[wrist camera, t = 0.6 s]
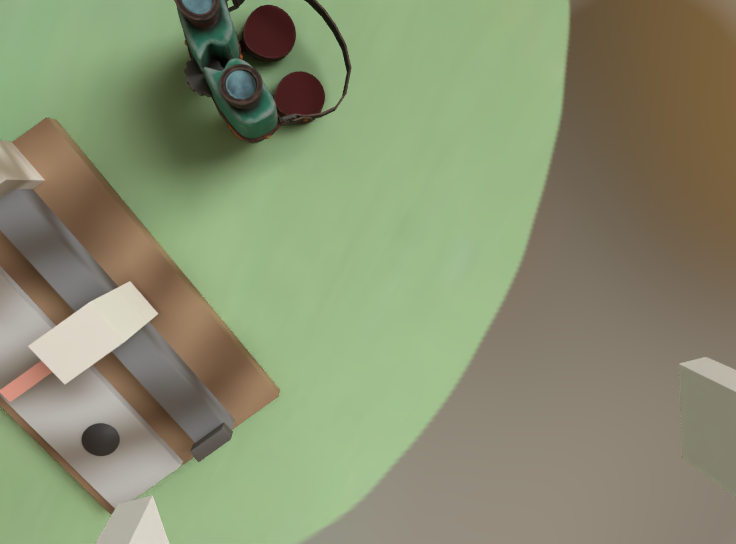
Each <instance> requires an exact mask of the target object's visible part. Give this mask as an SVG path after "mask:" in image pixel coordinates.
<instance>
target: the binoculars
mask: <svg viewBox="0 0 736 544" xmlns="http://www.w3.org/2000/svg"><path fill="white" fill-rule="evenodd" d="M174 1H175V3H176V5H177V10H178V14H179V18H180V22H181V25H182V28H183V32H184V35H185V39H186V40H185V45H187V47H188V50H189V54H190V57H191V59H192V60H191V61H190V62H189V61H188V62H187V64H186V65H187V68H186V69H185V74H186V77H187V78H186V81H187V83H188V84H189V85H191V86H190V87H191V89H192V90H193V91H194V92H195V91H196V92H198V94H199V95H201V96H203V95H206V96H207V97H212V99H213V101H214V103H215V105H216V107H217V109H218V111H219V114H220V115H221V116H222V117H223V119H224V120H225V121H226V122H227V123H228V127H229V128H230V129H231V130H232V132H233V133H234V134H235V136H237V137H238V138H239V139H241V140H244V141H247V142H249V143H258V142H261V141H263V140H264V139H268V138H269V137H270V136H271V135H273V134H274V133H275V132H276V130H277V129H278V128H279V126H281V125H286V124H291V123H292V124H293V123H299V124H302V123H308V122H311V121H313V120H315V119H316V118H319V117H322V116H324V115H327V114H329V113H331V112H333V111H335V110H336V108H337V107H338V105H339V104H340V102H341V101H342V99H343V98H344V96H345V95H346V93H347V88H348V83H349V78H350V72H351V64H350V60H349V55H348V51H347V46H346V43H345V41H344V39H343V37H342V36H341V34H340V32H339V30H338V28H337V26H336V24H335V23H334V21H333V20H332V19H331V17H330V16H329V14H328V13H327V12H326V10H325V9H324V8H323V7H322V6H321V5H320V4H319V3H318V2H317V1H316V0H305V1H306V2H308V3H309V4H310V5H311V6H312V7H313V8H314V9H315V10H316V11H317V12H318V13H319V14H320V15H321V16H322V18H323V19H324V20H325V22H326V23H327V25H328V26H329V28H330V29H331V30H332V32H333V34H334V36H335V37H336V39H337V41H338V43H339V45H340V47H341V49H342V52H343V56H344V61H345V65H346V70H347V75H346V80H345V85H344V90H343V95H342V98H341V99H340V101H339V102H338V104H337V105H336V106H335V107H333V108H331V109H329V110H327V111H324V112H322V113H320V112H321V110H322V107H323V104H324V101H325V93H324V89H323V86H322V85H321V83H320V82H319V81H318V79H317V78H315V77H314V76H313V75H311V74H309V73H306V72H293V73H290V74H288V75H287V76H285V77H284V78H283V79H282V80H281V82H280V83H279V84H278V86H277V88H276V91H275V96H274V99H273V97H272V95H271V93H270V92H269V90H268V88H267V87H266V85H265V84H264V82H263V81H262V78H261V76H260V74H259V73H258V71H257V70H256V69H254V68H253V67H252V66H251V65H250V64H248V63H247V62H245V61H243V60H242V59H243V56H242V55H241V53H244V52H249V53H250V54H251V55H252V56H254V57H256V58H258V59H261V60H264V61H277V60H280V59H282V58H284V57H285V56H286V55H287V54H288V53H289V52H290V51H291V49H292V48H293V46H294V43H295V39H296V31H295V26H294V23H293V21H292V19H291V18H290V16H289V15H288V14H287V13H286V12H285V11H284V10H282V9H281V8H279V7H277V6H273V5H264V6H260V7H259V8H257V9H255V10H254V11H253V12H252V13H251V15H250V16H249V17H248V19H247V21H246V23H245V26H244V29H243V33H242V41H238V38H237V35H236V32H235V29H234V26H233V23H232V20H231V17H230V14H229V12H231V11H233V10H235V9H237V8H239V6H240V5H241V4H242V3H243V2H244V1H245V0H232V1H233V4H234V6H232V7H230V8H228V4H227V1H228V0H174ZM278 120H279V123H278ZM284 120H286V121H284Z"/></svg>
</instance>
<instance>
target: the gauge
mask: <svg viewBox="0 0 736 544" xmlns="http://www.w3.org/2000/svg"><path fill="white" fill-rule="evenodd" d="M129 281H130V282H131V283H132V284H133V285H134V286H135V287H136V289H137V290H138V291H139V292H140V293H141V294H142V295H143V297H144V298H145V299H146V300H147V301H148V302H149V304H150V305H151V306H152V307H153V308H154V309H155V310H156V312H157V313H158V315H156V316H155V317H154V318H153V319H152V320H150V321H149V322H148V323H147V324H146V325H144V326H143V327H142V328H141V329H140V330H138V331H137V332H136V333H135V334H134V335H132V336H131V337H130V338H129V339H128V340H126V341H125V342H124V343H122V344H121V345H120V346H118V347H117V348H115V349H114V350H113V351H111V352H110V353H108V354H107V355H106V356H104V357H103V358H101V359H100V360H99V361H97V362H96V363H94V364H93V365H92V366H90V367H89V368H87V369H86V370H85V371H83V372H82V373H80V374H79V375H78V376H76V377H75V378H73V379H72V380H71V381H69V382H68V383H66V384H64V383H63V382H62V381H61V380H60V379H59V378H58V377H57V376H56V375H55V374H54V373H53V372H52V373H51V374H49V375H48V376H46V377H45V378H44V379H42V380H41V381H39V382H38V383H37V384H35V385H34V386H32V387H31V388H30V389H28V390H27V391H25V392H24V393H23V394H21V395H20V396H18V397H17V398H16V399H14V400H13V401H11V402H9V401H8V400H7V399H6V398H5V397H4V396H3V395H2V394H1V393H0V406H1V407H2V408H3V409H4V410H5V411H6V412H7V413H8V414H9V415H10V416H11V417H12V418H13V419H14V420H15V421H16V422H17V423H18V424H19V425H20V426H21V427H22V428H23V429H24V430H25V431H26V432H27V433H28V434H29V435H30V436H31V437H33V438H34V439H35V440H36V441H37V442H38V443H39V444H40V445H41V446H42V447H43V448H44V449H45V450H46V451H47V452H48V453H49V454H50V455H51V456H52V457H53V458H54V459H55V460H56V461H57V462H58V463H59V464H60V465H61V466H62V467H63V468H64V469H65V470H66V471H67V472H68V473H69V474H70V475H71V476H73V477H74V478H75V479H76V480H77V481H78V482H79V483H80V484H81V485H82V486H83V487H84V488H85V489H86V490H87V491H88V492H89V493H90V494H91V495H92V496H93V497H94V498H95V499H96V500H97V501H98V502H99V503H100V504H101V505H102V506H103V507H104V508H105V509H106V510H107V511H108V512H109V513H110V514H111V515H112V513H113V512H114V510H115V508H116V507H117V505H118V504H119V503H123V502H127V501H131V500H134V499H135V498H137V497H138V496H140V495H141V494H142V493H144V492H145V491H147V490H148V489H149V488H151V487H152V486H154V485H155V484H156V483H158V482H159V481H161V480H162V479H163V478H165V477H166V476H168V475H169V474H170V473H172V472H173V471H175V470H176V469H177V468H179V467H180V466H182V465H183V464H184V463H186V462H187V461H189V460H190V459H191V458H193V457H194V458H195V459H196V460H197V461H198V462H199V461H201V460H202V459H204V458H205V457H206V456H208V455H209V454H211V453H212V452H213V451H215V450H216V449H218V448H219V447H220V446H222V445H223V444H225V443H226V442H227V441H229V440H230V439H231V436H232V433H233V431H232V429H233V428H235V427H236V426H238V425H239V424H240V423H242V422H243V421H245V420H246V419H247V418H249V417H250V416H252V415H253V414H255V413H256V412H257V411H259V410H260V409H262V408H263V407H264V406H266V405H267V404H269V403H270V402H271V401H273V400H274V399H276V398H277V397H278V396H279V391H280V389H279V388H278V387H277V386H276V384H275V383H274V382H273V381H272V380H271V378H270V377H269V376H268V375H267V374H266V372H265V371H264V370H263V369H262V367H261V366H260V365H259V364H258V363H257V361H256V360H255V359H254V358H253V357H252V355H251V354H250V353H249V352H248V351H247V349H246V348H245V347H244V346H243V345H242V343H241V342H240V341H239V340H238V339H237V337H236V336H235V335H234V334H233V332H232V331H231V330H230V329H229V328H228V326H227V325H226V324H225V323H224V322H223V320H222V319H221V318H220V317H219V316H218V314H217V313H216V312H215V311H214V310H213V308H212V307H211V306H210V305H209V304H208V302H207V301H206V300H205V299H204V297H203V296H202V295H201V294H200V293H199V291H198V290H197V289H196V288H195V287H194V285H193V284H192V283H191V282H190V281H189V279H188V278H187V277H186V276H185V275H184V273H183V272H182V271H181V270H180V269H179V267H178V266H177V265H176V264H175V262H174V261H173V260H172V259H171V258H170V256H169V255H168V254H167V253H166V252H165V250H164V249H163V248H162V247H161V246H160V244H159V243H158V242H157V241H156V240H155V238H154V237H153V236H152V235H151V234H150V232H149V231H148V230H147V229H146V227H145V226H144V225H143V224H142V223H141V221H140V220H139V219H138V218H137V217H136V215H135V214H134V213H133V212H132V211H131V209H130V208H129V207H128V206H127V205H126V203H125V202H124V201H123V200H122V199H121V197H120V196H119V195H118V194H117V192H116V191H115V190H114V189H113V188H112V186H111V185H110V184H109V183H108V182H107V180H106V179H105V178H104V177H103V176H102V174H101V173H100V172H99V171H98V170H97V168H96V167H95V166H94V165H93V164H92V162H91V161H90V160H89V159H88V157H87V156H86V155H85V154H84V153H83V151H82V150H81V149H80V148H79V147H78V145H77V144H76V143H75V142H74V141H73V139H72V138H71V137H70V136H69V135H68V133H67V132H66V131H65V130H64V129H63V127H62V126H61V125H60V124H59V122H58V121H57V120H54V119H50V118H45V119H44V120H43V121H41V122H40V123H38V124H37V125H36V126H34V127H33V128H31V129H30V130H29V131H27V132H26V133H24V134H23V135H22V136H20V137H19V138H17V139H16V140H15V141H13V142H7V141H0V390H1V389H2V388H4V387H5V386H6V385H8V384H9V383H11V382H12V381H13V380H15V379H16V378H18V377H19V376H20V375H22V374H23V373H25V372H26V371H27V370H29V369H30V368H32V367H33V366H34V365H36V364H37V363H39V362H40V361H41V360H40V358H39V357H38V356H37V355H36V354H35V353H34V352H33V351H32V350H31V349H30V348H29V347H28V346H29V345H30V344H32V343H33V342H34V341H36V340H37V339H39V338H40V337H41V336H43V335H44V334H46V333H47V332H48V331H50V330H51V329H53V328H54V327H55V326H57V325H58V324H60V323H61V322H62V321H64V320H65V319H67V318H68V317H69V316H71V315H72V314H74V313H75V312H76V311H78V310H79V309H81V308H82V307H83V306H85V305H86V304H88V303H89V302H91V301H93V300H95V299H96V298H98V297H100V296H102V295H104V294H106V293H108V292H110V291H112V290H114V289H116V288H118V287H120V286H122V285H123V284H125V283H127V282H129Z"/></svg>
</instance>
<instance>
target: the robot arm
mask: <svg viewBox="0 0 736 544" xmlns="http://www.w3.org/2000/svg"><path fill="white" fill-rule="evenodd" d="M679 383H680V384H679V385H680V411H681V436H682V437H681V438H682V458H683V459H684V460H685V461H687V462H688V463H690V464H691V465H692V466H694V467H695V468H696V469H698V470H699V471H701V472H702V473H703V474H704V475H706V476H707V477H709V478H710V479H711V480H713V481H714V482H715V483H717V484H718V485H719V486H721V487H722V488H724V489H725V490H726V491H728V492H729V493H730V494H732V495H733V496H734V497H736V370H734V369H732V368H730V367H728V366H725V365H723V364H720V363H718V362H716V361H714V360H712V359H709V358H707V357H704V358H700V359H697V360H692V361H688V362H684V363H680V364H679ZM95 544H169V542H168V539H167V536H166V533H165V530H164V527H163V524H162V521H161V518H160V515H159V513H158V510H157V507H156V504H155V501H154V498H153V495H151V496H147V497H143V498H139V499H135V500H131V501H127V502H123V503H119V504H118V505H117V507H116V508H115V510H114V512H113V513H112V515H111V517H110V519H109V520H108V522H107V524H106V525H105V527H104V529H103V531H102V532H101V534H100V536H99V537H98V539H97V541H96V543H95Z"/></svg>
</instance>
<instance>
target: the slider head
mask: <svg viewBox="0 0 736 544" xmlns="http://www.w3.org/2000/svg"><path fill="white" fill-rule="evenodd" d="M156 315H158V313H157V312H156V310H155V309H154V308H153V307H152V306H151V305H150V304H149V302H148V301H147V300H146V299H145V298H144V297H143V295H142V294H141V293H140V292H139V291H138V290H137V289H136V287H135V286H134V285H133V284H132V283H131V282H130V281H129V282H127V283H125V284H123V285H122V286H120V287H118V288H116V289H114V290H112V291H110V292H108V293H106V294H104V295H102V296H100V297H98V298H96V299H95V300H93V301H91V302H89V303H88V304H86V305H85V306H83V307H82V308H81V309H79V310H78V311H76V312H75V313H74V314H72V315H71V316H69V317H68V318H67V319H65V320H64V321H62V322H61V323H60V324H58V325H57V326H55V327H54V328H53V329H51V330H50V331H48V332H47V333H46V334H44V335H43V336H41V337H40V338H39V339H37V340H36V341H34V342H33V343H32V344H30V345H29V346H28V347H29V348H30V349H31V350H32V351H33V352H34V353H35V354H36V355H37V356H38V357H39V358H40V360H41V361H40V362H39V363H37V364H36V365H34V366H33V367H32V368H30V369H29V370H27V371H26V372H25V373H23V374H22V375H20V376H19V377H18V378H16V379H15V380H13V381H12V382H11V383H9V384H8V385H6V386H5V387H4V388H2V389H1V390H0V393H1V394H2V395H3V396H4V397H5V398H6V399H7V400H8V401H9V402H11V401H13V400H14V399H16V398H17V397H18V396H20V395H21V394H23V393H24V392H25V391H27V390H28V389H30V388H31V387H32V386H34V385H35V384H37V383H38V382H39V381H41V380H42V379H44V378H45V377H46V376H48V375H49V374H51V373H52V372H53V373H54V374H55V375H56V376H57V377H58V378H59V379H60V380H61V381H62V382H63V383H64V384H66V383H68V382H69V381H71V380H72V379H73V378H75V377H76V376H78V375H79V374H80V373H82V372H83V371H85V370H86V369H87V368H89V367H90V366H92V365H93V364H94V363H96V362H97V361H99V360H100V359H101V358H103V357H104V356H106V355H107V354H108V353H110V352H111V351H113V350H114V349H115V348H117V347H118V346H120V345H121V344H122V343H124V342H125V341H126V340H128V339H129V338H130V337H131V336H132V335H134V334H135V333H136V332H137V331H138V330H140V329H141V328H142V327H143V326H144V325H146V324H147V323H148V322H149V321H150V320H152V319H153V318H154V317H155V316H156Z"/></svg>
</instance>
